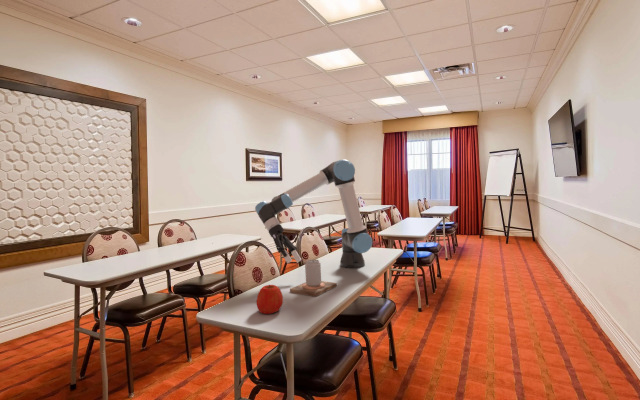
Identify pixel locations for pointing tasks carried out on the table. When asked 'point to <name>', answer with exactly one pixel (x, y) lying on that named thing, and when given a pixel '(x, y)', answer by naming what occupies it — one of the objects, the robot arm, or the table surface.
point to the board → (313, 288)
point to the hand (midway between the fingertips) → (294, 261)
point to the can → (313, 273)
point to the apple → (269, 299)
